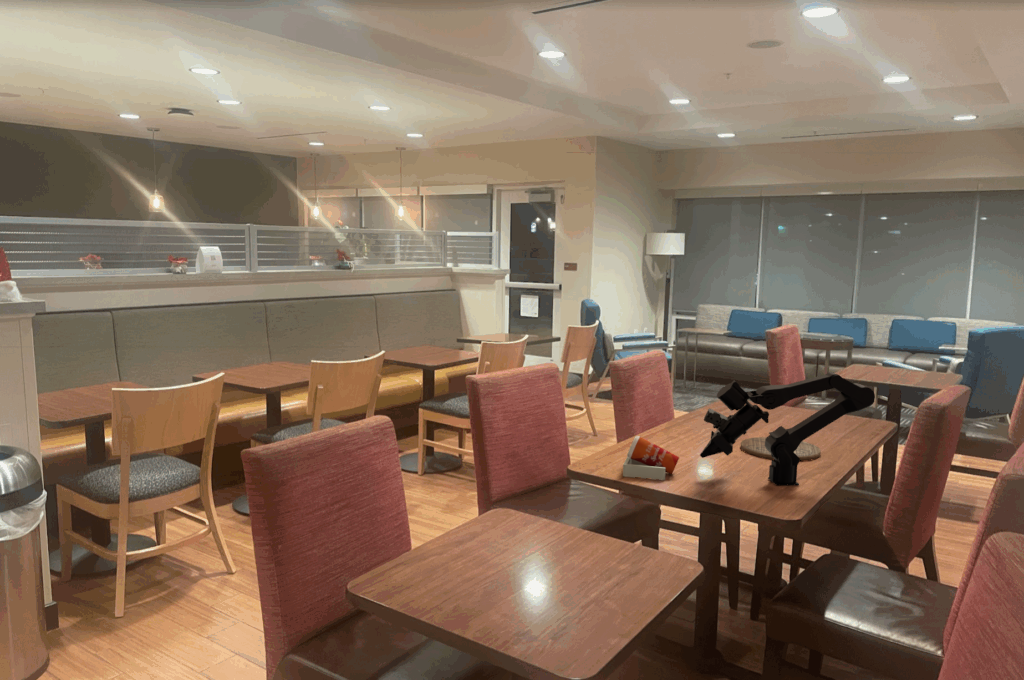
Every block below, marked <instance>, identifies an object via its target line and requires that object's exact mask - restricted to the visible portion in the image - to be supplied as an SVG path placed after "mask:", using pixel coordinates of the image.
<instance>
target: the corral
mask: <svg viewBox="0 0 1024 680" xmlns="http://www.w3.org/2000/svg"><path fill="white" fill-rule="evenodd" d="M622 477H626V478H635V477H641V478H640V479H646V478H651V479H650V480H656V479H659V481H666V472H665V467H654V466H648V465H645V464H643V463H641V462H638V461H636V460H633V459H630V458H629V457H627V456H626V458H625V460H624V462H623V463H622Z"/></svg>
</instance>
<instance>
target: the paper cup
mask: <svg viewBox="0 0 1024 680" xmlns="http://www.w3.org/2000/svg"><path fill="white" fill-rule="evenodd" d="M628 449H629V450H628V452H627V455H626V458H627V457H629V458H630V459H633V460H636V461H638V462H641V463H643V464H645V465H648V466H654V467H665V474H669V475H673V473H674V471H675V468H676V466H677V464H678V461H679V459H680V457H679V456H678V455H676V454H674V453H672V452H671V451H668V450H666V448H663V447H661V446H659V445H658V444H655V443H653V442H651V441H649V440H647V439H645V438H644V437H641V435H635V437H634V438H633V441H632V442H631V445H630V447H629V448H628Z"/></svg>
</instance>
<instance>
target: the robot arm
mask: <svg viewBox="0 0 1024 680" xmlns="http://www.w3.org/2000/svg"><path fill="white" fill-rule="evenodd" d="M832 389H834V390H836V391H838V392H839V394H838V395H837V397H836V398H835V400H834V401H832V402H830V403H829V404H828V405H826V406H824V407H822V408H821V409H820V410H818V411H816V412H815V413H813V414H811V415H809V417H806V418H805V419H803V420H802V421H800V422H799V423H797V424H795V425H794V426H792V427H790V428H785V427H783V425H779V427H777V428H776V429H775V430H773V431H769V432H768V434H769V435H768V436H766V437H767V438H766V439H765V447H766V449H767V450H768V451H769V452H770V453H771V456H772V457H773V458H774V460H773V459H770V460H771V461H770V464H769V468H768V471H769V472H768V477H767V479H768V481H770V482H772V483H773V484H775V486H779V487H780V486H781V487H783V486H799V485H800V482H798V481H797V480H798V478H797V476H798V475H797V474H798V465H799V463H800V462H801V461H800V458H799V457H798V456H797V455H796V454H795V453H794V451H795V450H796V449H797V448H798V446H799V445H800V443H801V442H802V441H803V442H804V441H805V440H807V439H808V438H809V437H812V436H813V435H815V434H816V433H818V432H819V431H821V430H822V429H824V428H826V427H827V426H829V425H830V424H832V423H834V422H835V421H837V420H838V419H840V418H842V417H843V416H845V415H846V414H850V413H855V412H859V411H862V410H864V409H866V408H869V407H871V406H872V405H874V403H875V399H876V394H875V392H874V390H873V389H872V388H870V387H869V386H866V385H863V384H860V383H856V382H854V383H853V382H851V381H850V380H847V379H845V378H844V377H842V376H841V375H840V374H838V373H835V372H831V371H830V372H827V373H826V374H821V375H817V376H815V377H811V378H807V379H804V380H803V379H802V380H800V381H796V382H792V383H788V384H771V385H762V386H759V387H758V388H757V389H756V390H754V389H753V390H749V391H748V390H747V391H745V390H744V389H743V388H742V387H741V386H740V384H739V383H738V382H737V381H735V380H732V381H731V382H730V383H728V384H726V385H725V386H722V387H721V388H720V389H719V391H718V392H717V393H716V398H717V399H718V400H719V401H720V402H722V404H724V405H725V407H727V409H729V410H730V411H735V413H734V414H729V415H728V416H726V415H724V414H722V413H720V412H718V411H716V410H714V409H712V408H708V409H707V411H706V414H705V415H704V417H703V421H704V422H705V423H709V424H711V425H712V428H713V429H716V431H713V430H711V432H710V433H711V434H710V440H709V442H708V443H707V444H706V445H705V447H704V449H703V450H702V451H701V452H700V453H699V454H700V455H699V456H700V458H702V459H704V458H708V457H710V456H714V455H716V454H721V453H723V454H725V455H726V456H727V457H728V456H730V455H731V454H732V453H733V449H734V444H736V440H738V439H739V438H740V437H741V436H742V435H743V436H746V434H747V433H748V430H750V429H751V428H752V427H753V426H755V425H756V424H757V422H759V421H761V420H763V421H764V422H765V424H768V423H769V416H770V413H769V411H768V410H770V411H771V410H772V411H773V410H776V409H777V408H779V407H782V406H784V405H786V404H787V403H788V402H790V401H792V400H794V399H799V398H801V397H805V396H810V395H812V394H817V393H820V392H824V391H825V392H826V391H829V390H832ZM750 401H751V402H752V403H753V404H752V403H751V402H750ZM758 405H759V406H761V407H762V408H764V410H763V409H762V408H760V407H759V406H758ZM765 409H766V411H765Z"/></svg>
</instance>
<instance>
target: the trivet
mask: <svg viewBox="0 0 1024 680" xmlns="http://www.w3.org/2000/svg"><path fill="white" fill-rule="evenodd" d="M767 437H768V436H757V437H750V438H745V439H743V440H741V442H740V449H742V450H741V451H742V452H744V451H745V452H744V453H746V452H747V453H746V454H748V453H749V454H748V455H751V456H754V455H755V456H754V457H757V456H758V458H761V457H763V458H762V459H767V458H769V459H768V460H773V459H774V458H773V457H772V456H771V453H770V452H769V451H768V450H767V449H766V447H765V439H766V438H767ZM821 451H822V450H821V448H820V447H819V446H817V445H815V444H814V443H813V444H812V443H810V442H807V441H804V440H803V441H802V442H801V443H800V445H799V446H798V448H797V449H796V450H795V451H794V453H795V454H796V455H797V456H798V457H799V458H800V460H801V461H800V462H803V461H802V460H808V461H812V460H811V459H814V460H817V459H818V457H819V458H820V457H821ZM816 458H817V459H816Z"/></svg>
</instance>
